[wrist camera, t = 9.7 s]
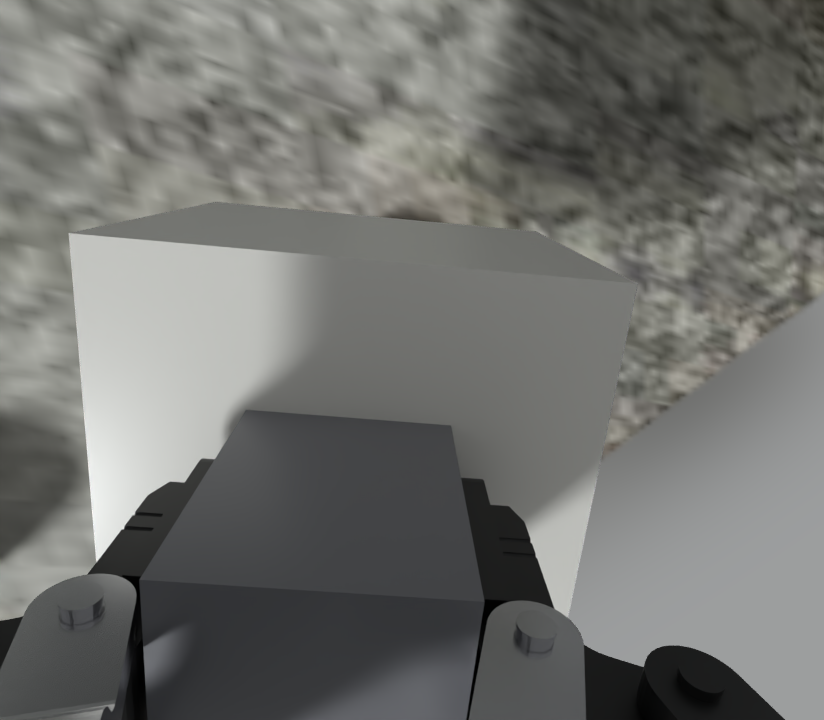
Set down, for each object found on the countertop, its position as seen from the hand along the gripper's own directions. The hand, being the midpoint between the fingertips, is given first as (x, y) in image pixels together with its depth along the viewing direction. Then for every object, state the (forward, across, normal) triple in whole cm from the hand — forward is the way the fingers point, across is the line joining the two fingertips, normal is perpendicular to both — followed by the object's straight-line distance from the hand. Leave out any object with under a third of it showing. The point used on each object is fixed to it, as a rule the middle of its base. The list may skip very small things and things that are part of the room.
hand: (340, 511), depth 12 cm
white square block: (+9, 0, 0) cm, 9 cm away
